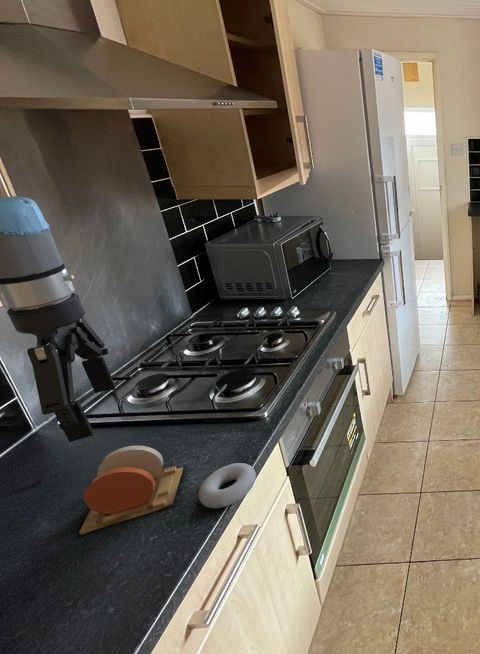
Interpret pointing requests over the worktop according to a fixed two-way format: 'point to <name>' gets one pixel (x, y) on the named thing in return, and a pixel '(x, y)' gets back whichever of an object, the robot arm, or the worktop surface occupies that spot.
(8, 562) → the worktop surface
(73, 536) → the worktop surface
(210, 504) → the donut
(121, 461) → the cream coaster
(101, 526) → the coaster rack
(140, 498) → the terracotta coaster
